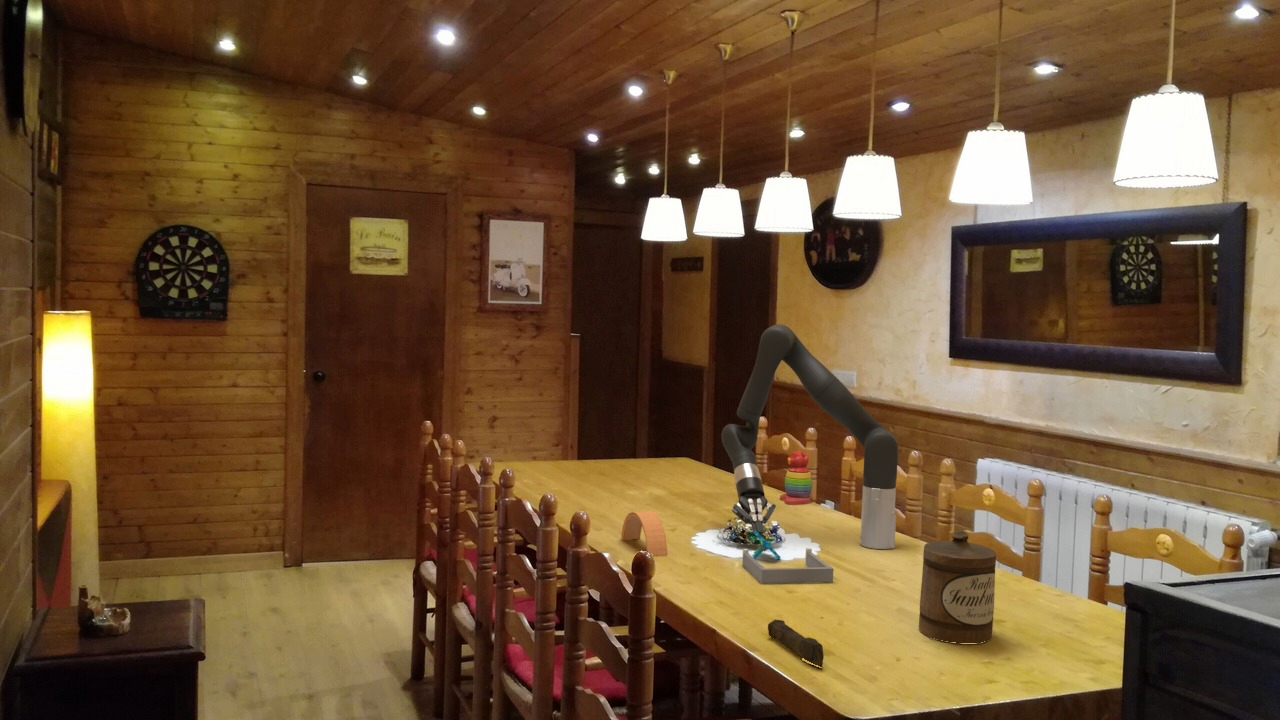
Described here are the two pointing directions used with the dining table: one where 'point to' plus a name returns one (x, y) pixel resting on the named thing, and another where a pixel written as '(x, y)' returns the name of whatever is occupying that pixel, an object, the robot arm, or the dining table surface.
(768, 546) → the teal crossed bars
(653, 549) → the arch
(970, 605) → the wooden container
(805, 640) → the dark brown rough bar
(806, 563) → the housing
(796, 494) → the stacking bear
